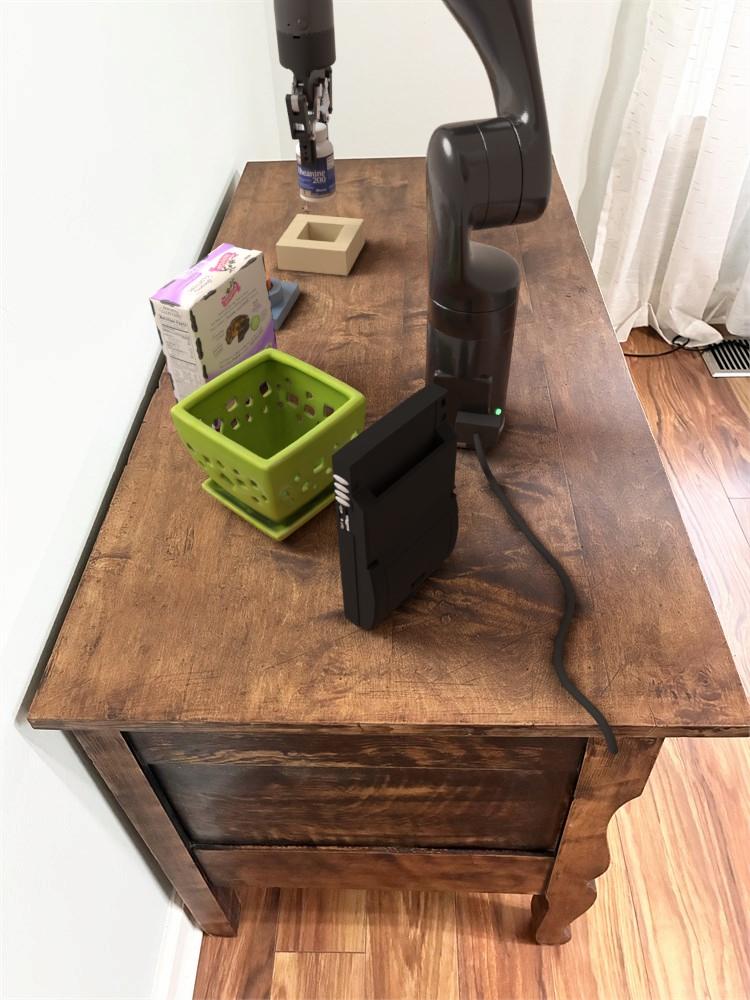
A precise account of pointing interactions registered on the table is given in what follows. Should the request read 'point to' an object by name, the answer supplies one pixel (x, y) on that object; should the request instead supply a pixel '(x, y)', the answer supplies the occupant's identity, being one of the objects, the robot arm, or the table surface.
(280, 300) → the switch block
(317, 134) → the pill bottle
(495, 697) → the table surface
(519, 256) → the table surface
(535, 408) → the table surface
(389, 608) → the black electronic device
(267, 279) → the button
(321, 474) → the flower pot
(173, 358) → the candy box
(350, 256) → the dock
